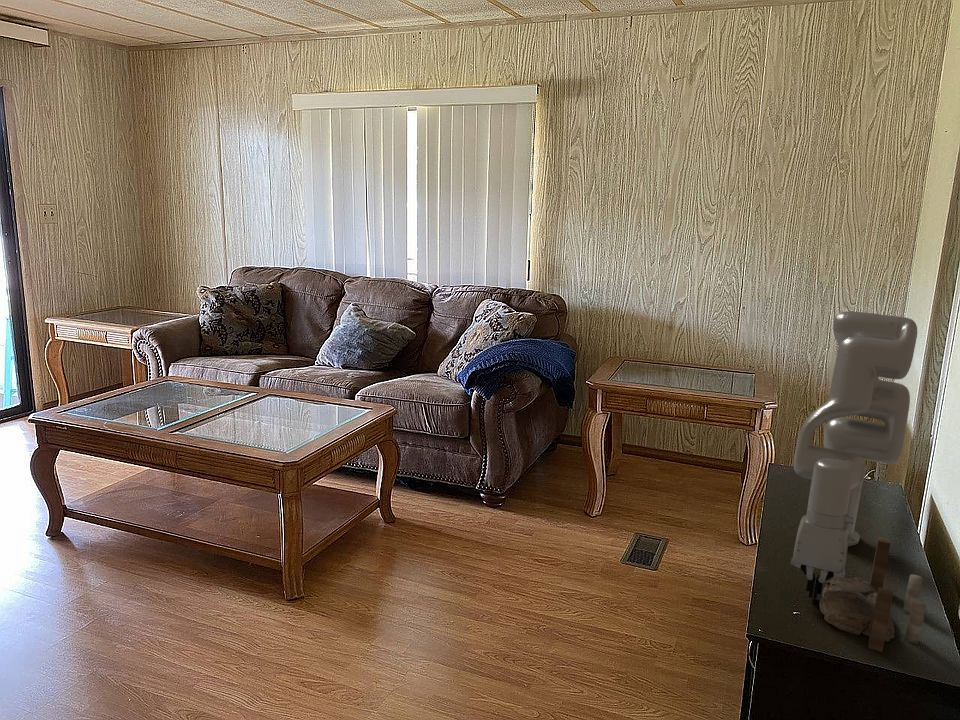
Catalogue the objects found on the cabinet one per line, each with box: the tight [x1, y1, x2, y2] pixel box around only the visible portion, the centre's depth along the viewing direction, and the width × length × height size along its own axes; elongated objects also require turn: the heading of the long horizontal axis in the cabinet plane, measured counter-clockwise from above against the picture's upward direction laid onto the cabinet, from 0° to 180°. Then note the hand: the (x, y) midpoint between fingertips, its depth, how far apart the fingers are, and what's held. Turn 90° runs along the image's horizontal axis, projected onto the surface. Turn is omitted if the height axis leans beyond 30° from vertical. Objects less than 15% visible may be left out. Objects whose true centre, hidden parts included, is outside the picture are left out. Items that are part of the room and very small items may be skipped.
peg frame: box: [868, 536, 927, 653], centre depth 154 cm, size 27×9×12 cm, turn 153°
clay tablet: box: [819, 576, 896, 643], centre depth 158 cm, size 14×5×20 cm
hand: (813, 595), depth 162 cm, fingers closed
